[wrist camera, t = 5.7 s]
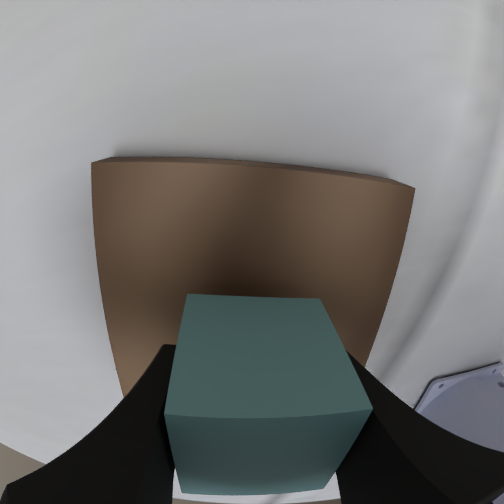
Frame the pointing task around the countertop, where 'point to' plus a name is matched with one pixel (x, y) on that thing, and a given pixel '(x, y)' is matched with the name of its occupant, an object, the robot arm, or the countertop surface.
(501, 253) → the countertop surface
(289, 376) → the teal block
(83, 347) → the countertop surface
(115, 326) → the walnut plinth
